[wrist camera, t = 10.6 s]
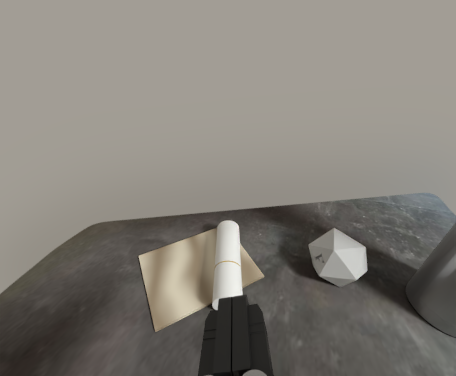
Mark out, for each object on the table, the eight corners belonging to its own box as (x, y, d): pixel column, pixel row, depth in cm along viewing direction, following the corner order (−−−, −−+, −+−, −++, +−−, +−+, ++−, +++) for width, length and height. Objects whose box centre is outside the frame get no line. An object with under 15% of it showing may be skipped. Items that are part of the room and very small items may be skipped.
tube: (237, 293, 28) (234, 217, 41) (207, 300, 29) (213, 223, 42) (247, 309, 31) (241, 233, 43) (219, 315, 31) (222, 238, 44)
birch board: (225, 225, 47) (225, 224, 46) (263, 277, 36) (264, 275, 36) (138, 257, 40) (138, 255, 39) (155, 332, 29) (155, 330, 29)
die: (308, 247, 43) (297, 232, 36) (354, 235, 40) (352, 216, 33) (323, 292, 38) (313, 285, 31) (377, 282, 35) (380, 272, 28)
